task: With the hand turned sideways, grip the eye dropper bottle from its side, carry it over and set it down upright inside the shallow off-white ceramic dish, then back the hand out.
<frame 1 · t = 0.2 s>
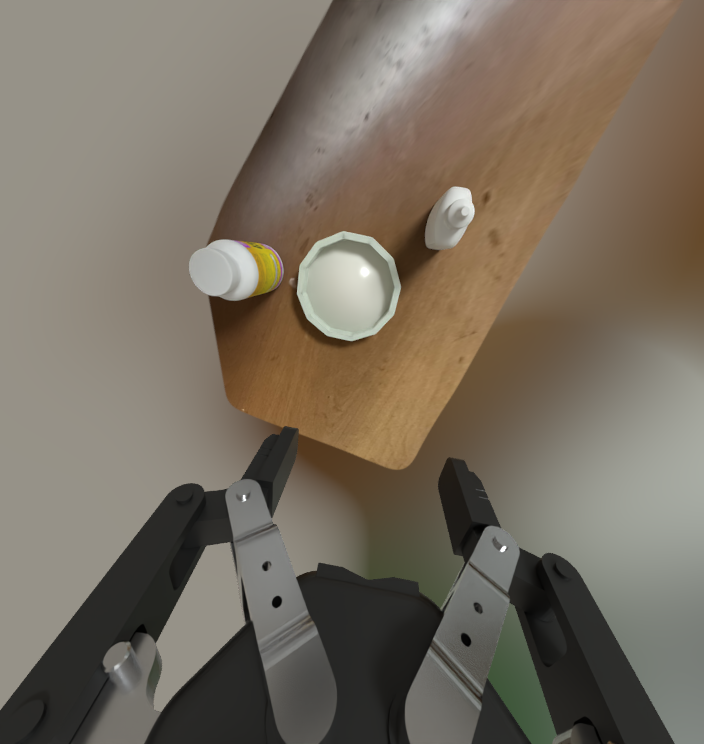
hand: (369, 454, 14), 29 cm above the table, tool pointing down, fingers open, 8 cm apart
dish: (349, 288, 38), on the table
supplement bottle: (263, 268, 39), on the table
eye dropper bottle: (438, 226, 34), on the table
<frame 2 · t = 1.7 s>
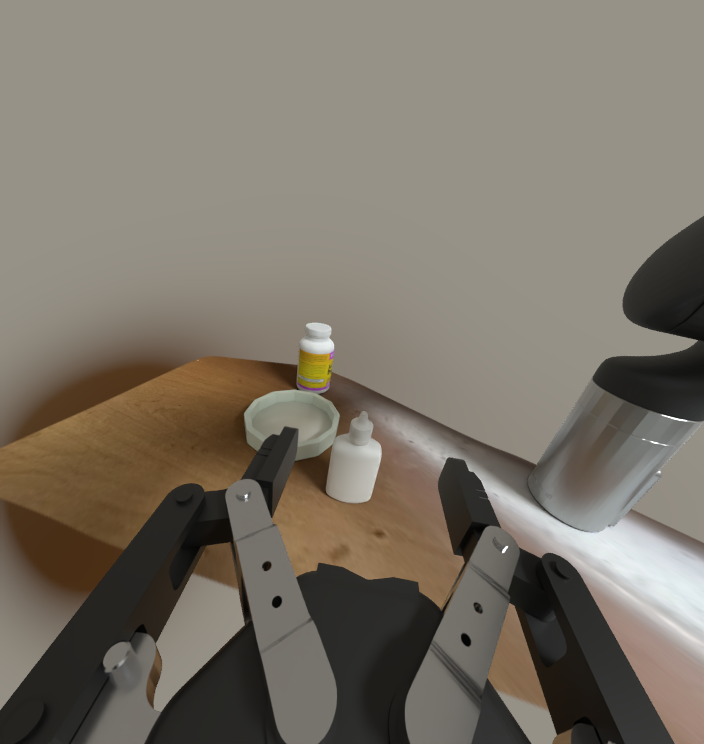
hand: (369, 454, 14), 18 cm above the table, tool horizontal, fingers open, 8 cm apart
dish: (293, 426, 42), on the table
supplement bottle: (312, 387, 54), on the table
eye dropper bottle: (347, 492, 33), on the table
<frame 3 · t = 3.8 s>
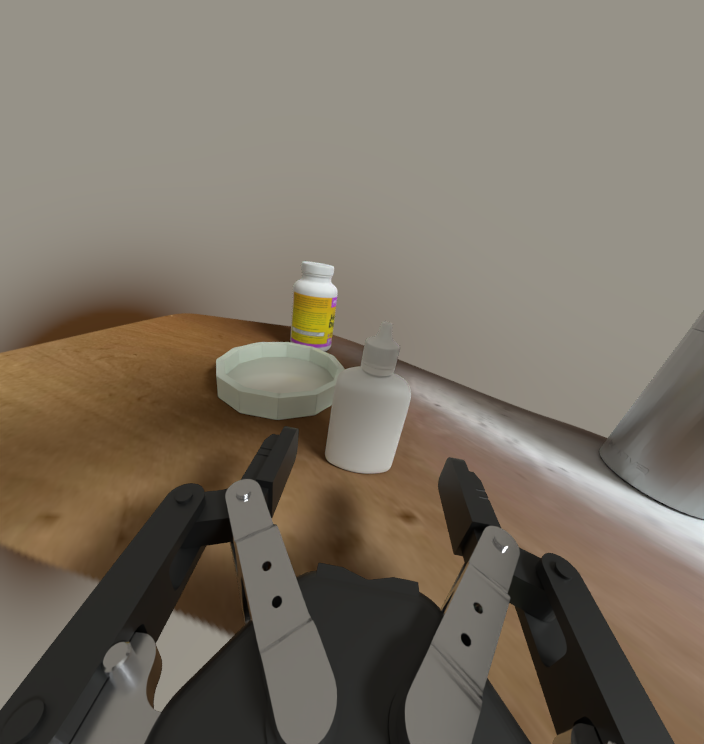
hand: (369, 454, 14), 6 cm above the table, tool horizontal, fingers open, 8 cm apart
dish: (282, 382, 32), on the table
supplement bottle: (310, 347, 44), on the table
eye dropper bottle: (357, 460, 23), on the table
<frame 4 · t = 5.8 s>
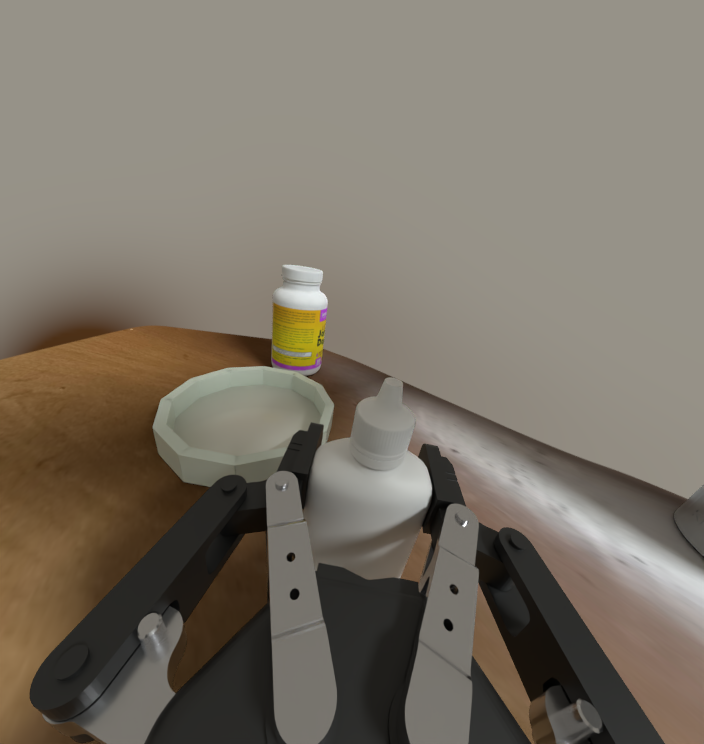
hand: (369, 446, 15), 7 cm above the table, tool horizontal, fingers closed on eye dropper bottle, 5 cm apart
dish: (253, 424, 24), on the table
supplement bottle: (296, 368, 36), on the table
eye dropper bottle: (347, 564, 15), on the table, touching gripper
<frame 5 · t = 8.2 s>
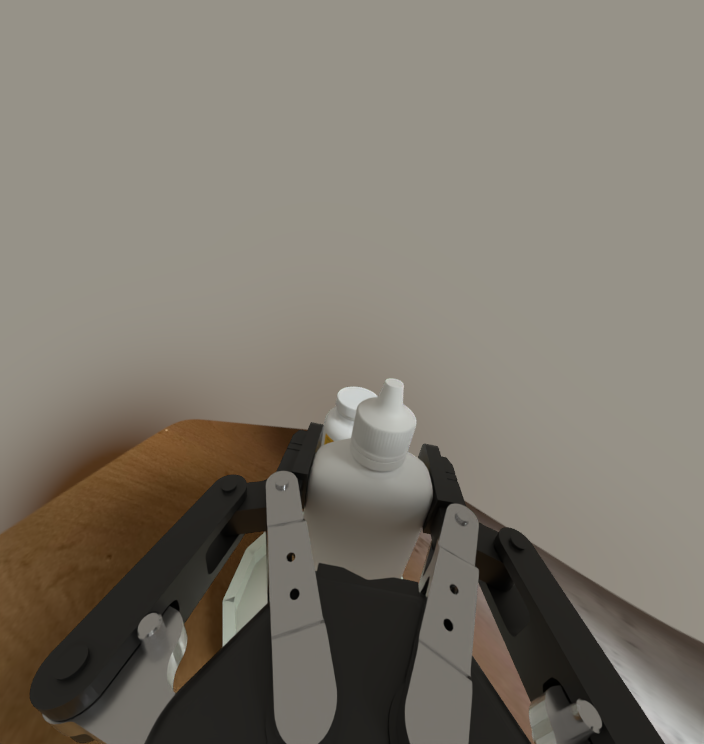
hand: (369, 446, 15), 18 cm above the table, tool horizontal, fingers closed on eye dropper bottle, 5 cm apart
dish: (317, 606, 22), on the table
supplement bottle: (342, 482, 34), on the table
eye dropper bottle: (347, 565, 15), point 11 cm above the table, touching gripper
when the fingers open (8 cm above the table, at t = 10.8 s): eye dropper bottle stays where it is, resting on dish.
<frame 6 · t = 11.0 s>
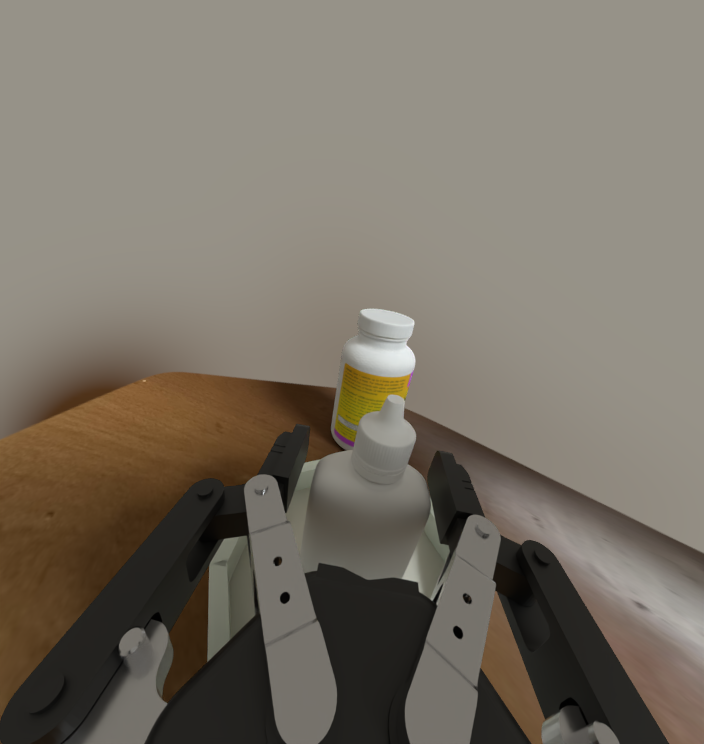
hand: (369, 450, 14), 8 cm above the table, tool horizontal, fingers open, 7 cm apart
dish: (344, 576, 16), on the table
supplement bottle: (361, 437, 28), on the table
eye dropper bottle: (345, 574, 15), resting on dish
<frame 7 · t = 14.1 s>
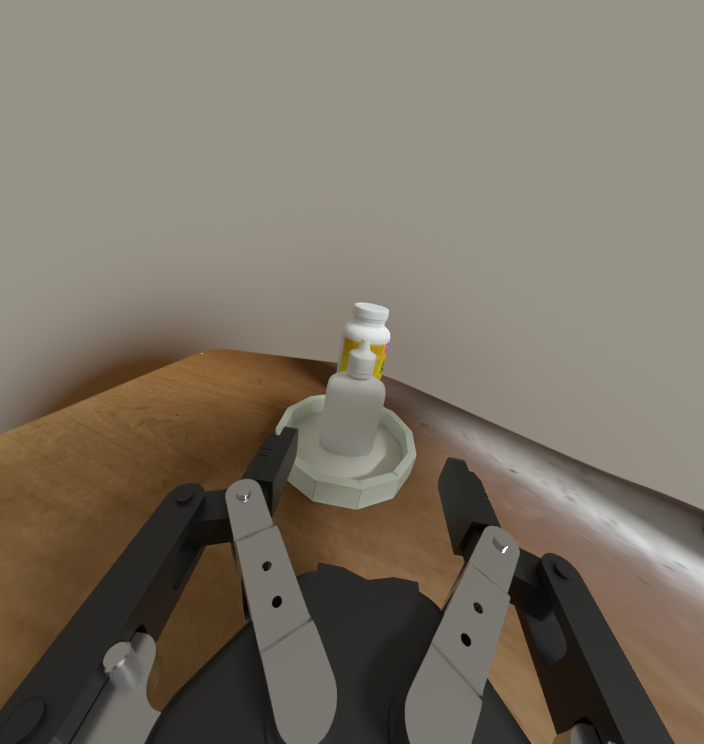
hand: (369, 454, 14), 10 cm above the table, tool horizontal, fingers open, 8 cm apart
dish: (344, 448, 28), on the table
supplement bottle: (355, 391, 40), on the table
eye dropper bottle: (345, 446, 28), resting on dish
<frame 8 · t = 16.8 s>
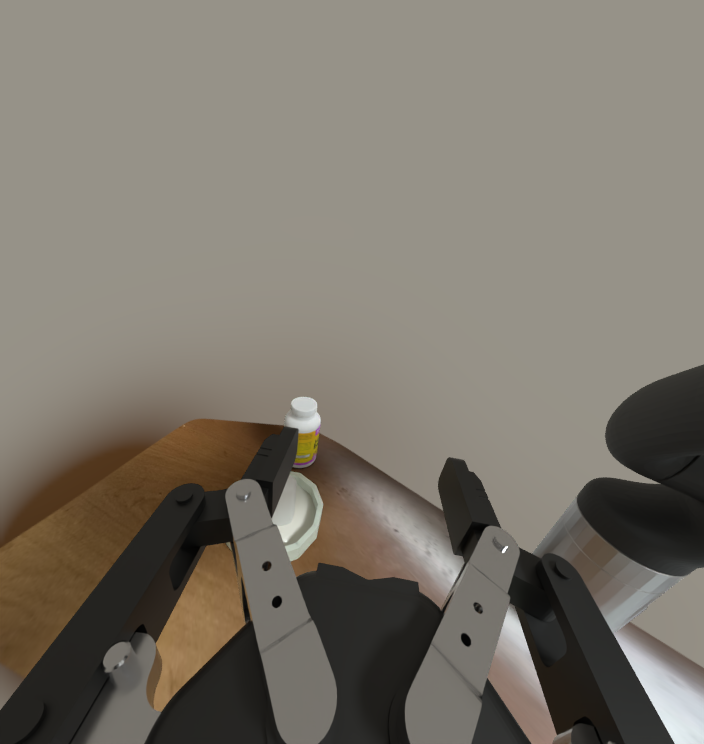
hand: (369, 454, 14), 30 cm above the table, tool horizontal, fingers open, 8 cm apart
dish: (275, 517, 41), on the table
supplement bottle: (299, 457, 53), on the table
eye dropper bottle: (275, 516, 41), resting on dish
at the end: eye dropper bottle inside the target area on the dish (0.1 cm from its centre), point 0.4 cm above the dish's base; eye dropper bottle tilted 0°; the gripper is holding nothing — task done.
